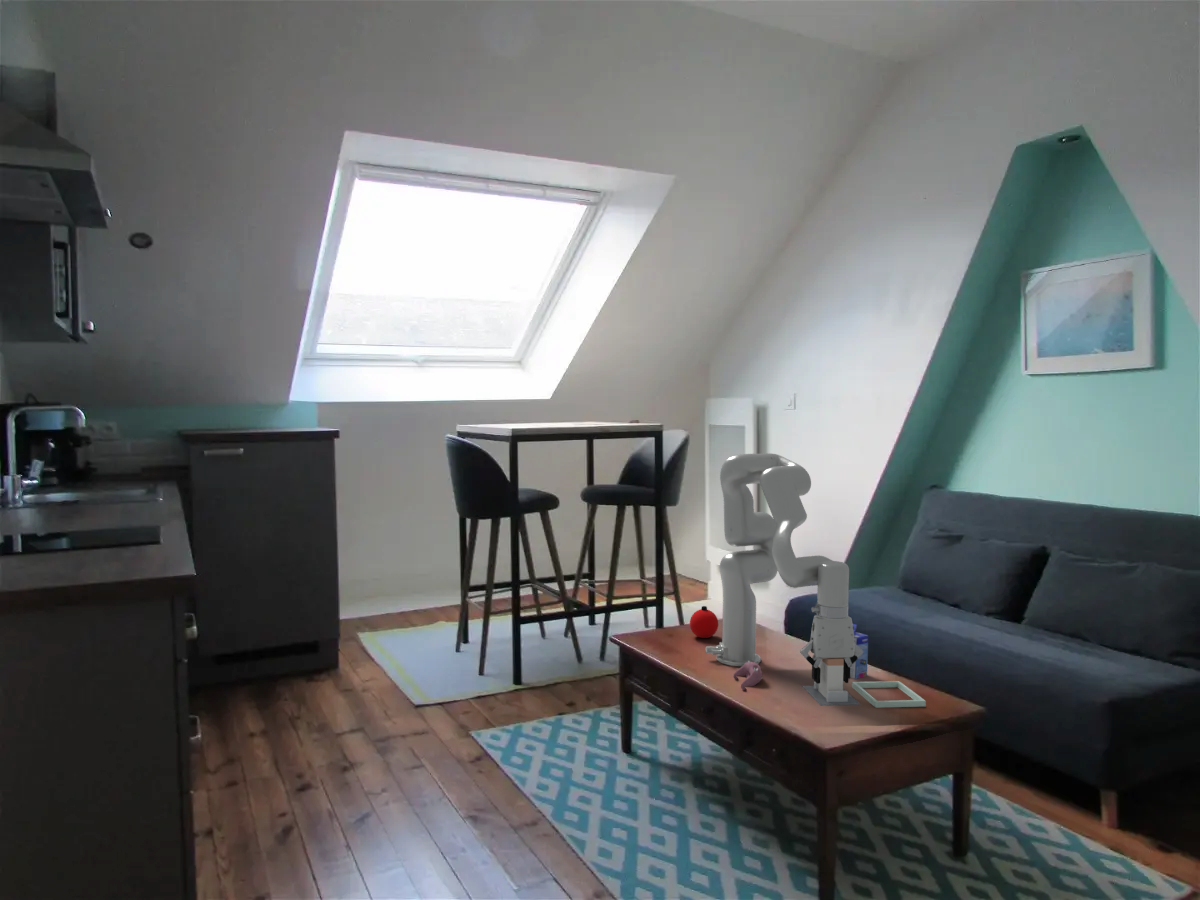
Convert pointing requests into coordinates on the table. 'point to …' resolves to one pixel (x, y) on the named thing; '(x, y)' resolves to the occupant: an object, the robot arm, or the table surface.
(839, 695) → the block
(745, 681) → the video game controller
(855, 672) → the ink cartridge box
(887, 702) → the tray
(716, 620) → the ornament
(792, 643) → the table surface
